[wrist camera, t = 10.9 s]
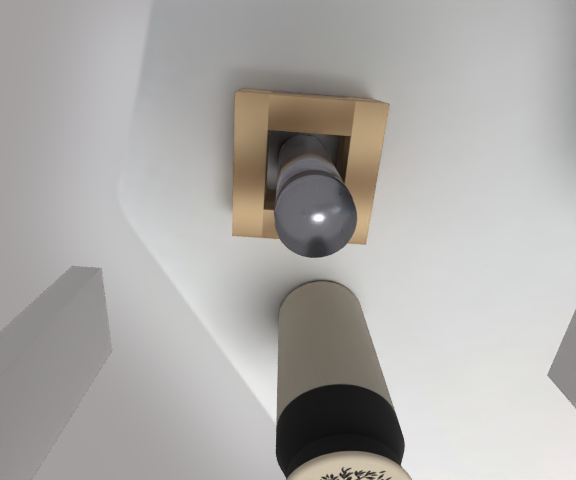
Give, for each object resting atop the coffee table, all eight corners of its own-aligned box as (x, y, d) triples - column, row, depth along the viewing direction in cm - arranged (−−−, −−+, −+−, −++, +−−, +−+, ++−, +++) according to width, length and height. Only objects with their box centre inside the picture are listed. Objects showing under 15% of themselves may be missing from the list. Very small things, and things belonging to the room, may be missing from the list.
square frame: (242, 88, 29) (234, 91, 25) (373, 99, 30) (389, 103, 25) (239, 213, 33) (232, 235, 29) (354, 221, 34) (366, 244, 29)
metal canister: (279, 132, 31) (276, 175, 18) (331, 136, 31) (364, 182, 18) (276, 183, 32) (271, 255, 20) (325, 186, 33) (352, 260, 20)
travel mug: (263, 301, 37) (247, 486, 20) (339, 265, 36) (388, 434, 19) (302, 359, 40) (315, 564, 23) (374, 329, 38) (442, 524, 22)
